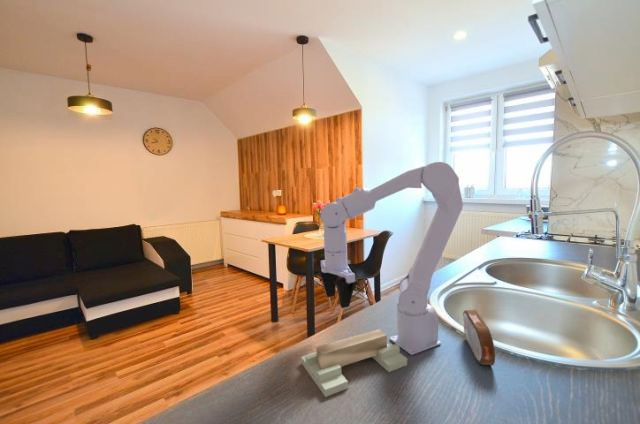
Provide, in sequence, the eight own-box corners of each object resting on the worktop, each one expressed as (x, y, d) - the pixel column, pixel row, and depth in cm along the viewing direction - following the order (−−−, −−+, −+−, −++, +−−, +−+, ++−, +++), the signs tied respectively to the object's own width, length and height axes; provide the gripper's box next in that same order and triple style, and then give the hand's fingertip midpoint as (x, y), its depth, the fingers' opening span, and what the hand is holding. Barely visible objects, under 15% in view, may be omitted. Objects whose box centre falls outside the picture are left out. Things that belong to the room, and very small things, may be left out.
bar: (316, 364, 65) (316, 346, 65) (379, 345, 71) (379, 329, 71) (322, 372, 62) (321, 354, 62) (387, 351, 68) (386, 335, 68)
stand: (374, 339, 77) (374, 327, 76) (407, 365, 66) (407, 352, 66) (301, 363, 68) (300, 350, 68) (325, 397, 57) (324, 382, 57)
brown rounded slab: (496, 374, 62) (497, 335, 61) (479, 372, 63) (480, 334, 62) (474, 335, 77) (475, 303, 75) (460, 334, 77) (461, 303, 76)
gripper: (309, 246, 81) (312, 294, 83) (335, 258, 68) (337, 316, 70) (332, 242, 84) (334, 289, 86) (362, 254, 71) (363, 309, 73)
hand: (337, 301), depth 78 cm, fingers open, 7 cm apart
